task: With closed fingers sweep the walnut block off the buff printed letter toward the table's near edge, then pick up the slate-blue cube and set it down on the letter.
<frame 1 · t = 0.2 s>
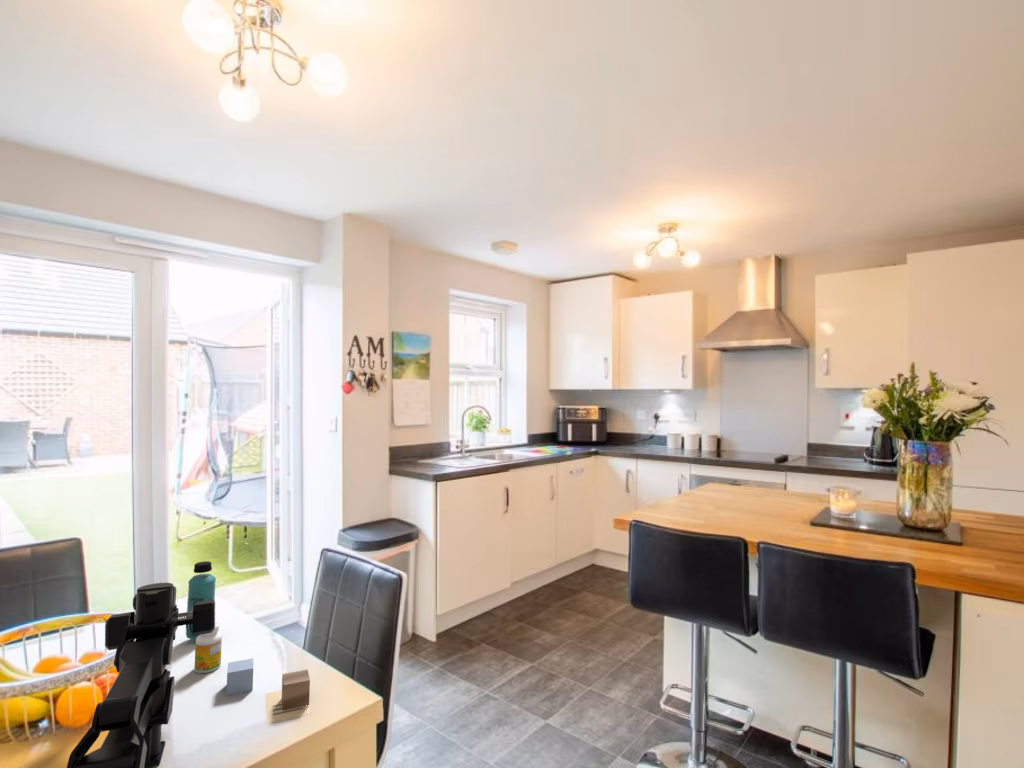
hand: (169, 611, 117), 17 cm above the table, tool horizontal, fingers open, 9 cm apart
supplement bottle: (207, 669, 125), on the table
letter: (287, 704, 111), on the table
cube: (239, 688, 117), on the table
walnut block: (295, 701, 111), resting on letter
beverage bottle: (199, 640, 140), on the table
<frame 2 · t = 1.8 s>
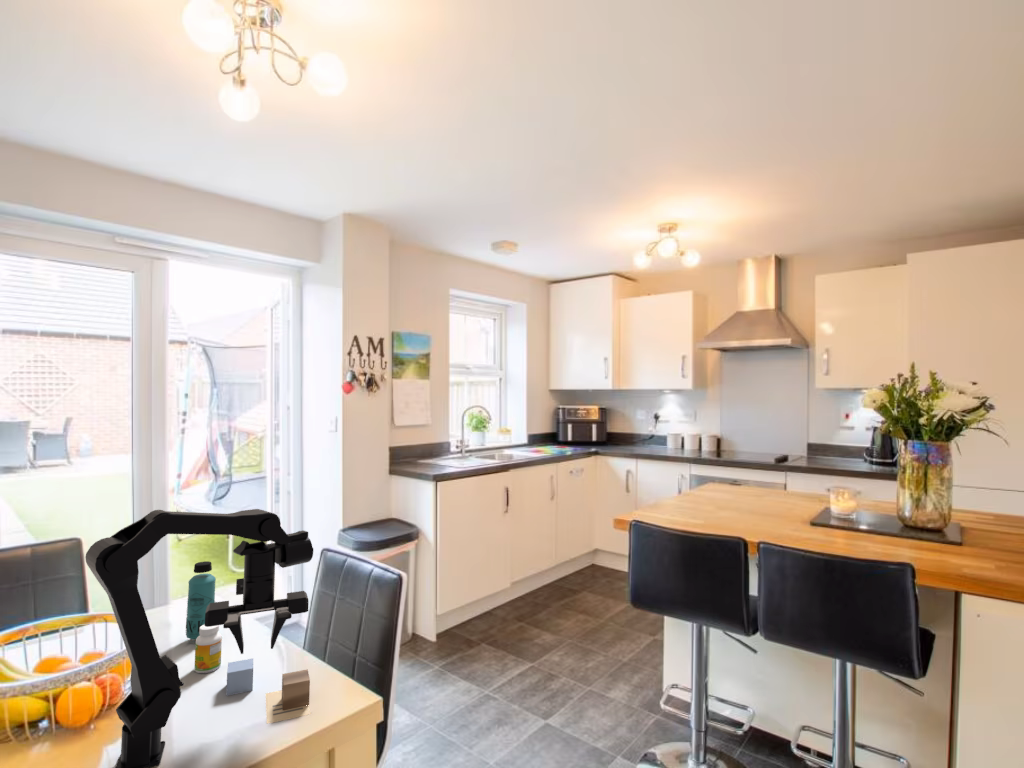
hand: (257, 650, 109), 12 cm above the table, tool pointing down, fingers open, 5 cm apart
nothing on the table moved.
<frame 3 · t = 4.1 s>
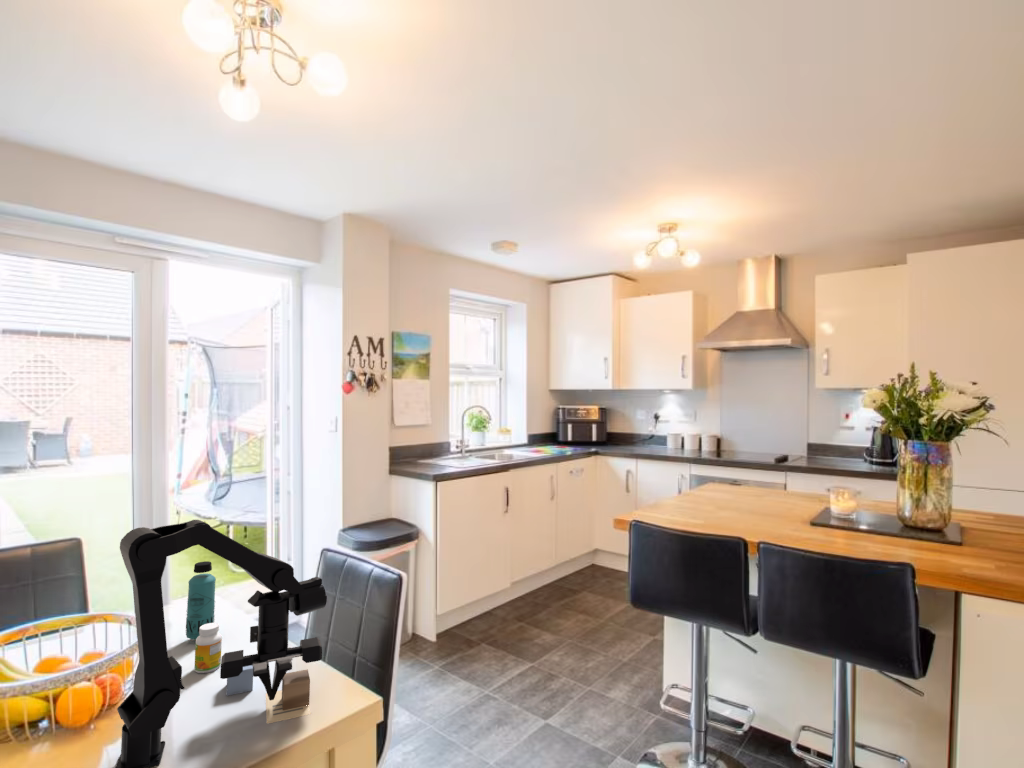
hand: (271, 699, 110), 2 cm above the table, tool pointing down, fingers closed
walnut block: (295, 701, 111), resting on letter, touching gripper
everything else where it was.
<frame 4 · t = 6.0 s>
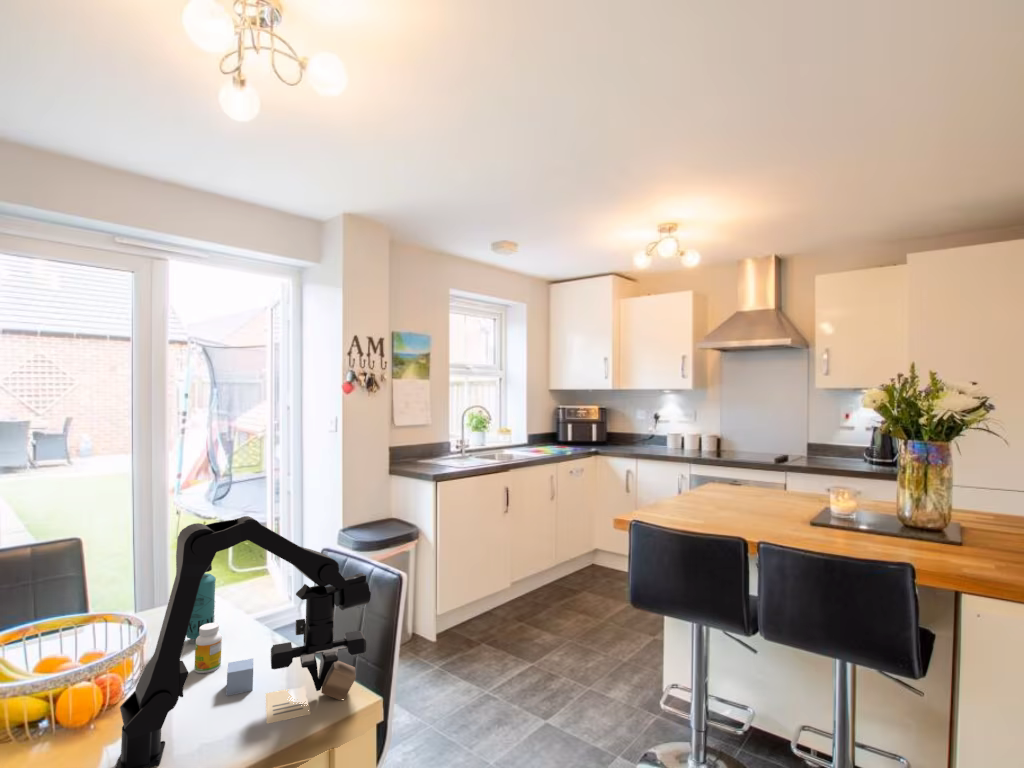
hand: (318, 689, 113), 2 cm above the table, tool pointing down, fingers closed
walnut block: (332, 691, 114), point 1 cm above the table, tilted 28°, touching gripper
everything else where it was.
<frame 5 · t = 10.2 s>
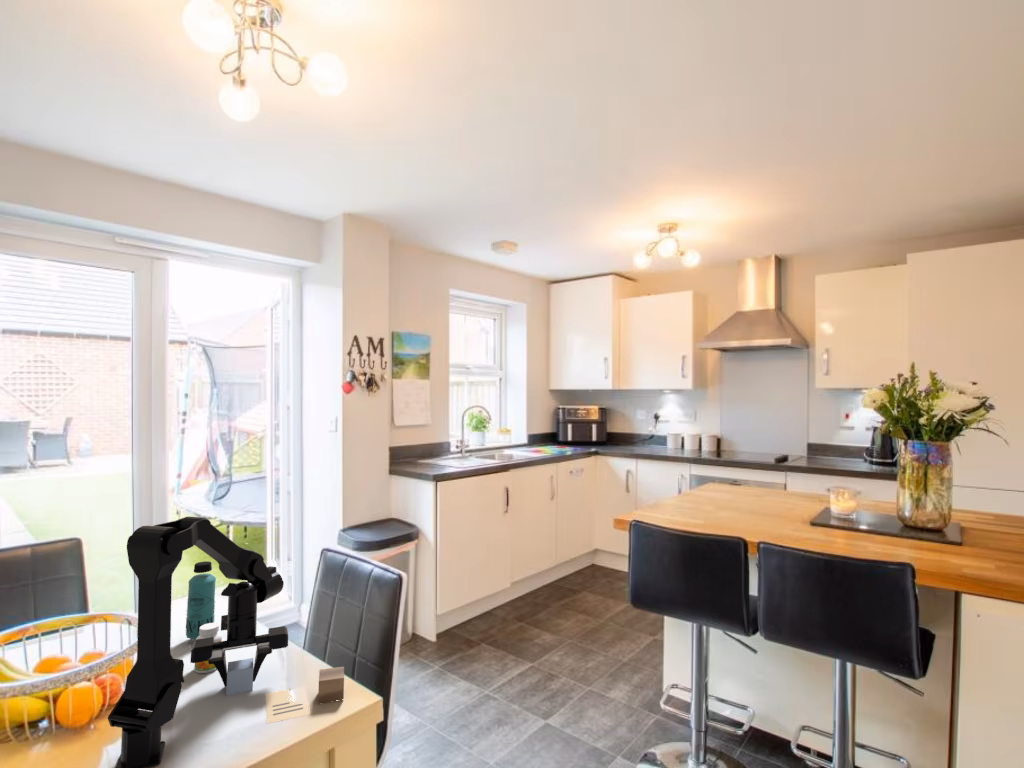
hand: (240, 683, 117), 1 cm above the table, tool pointing down, fingers closed on cube, 5 cm apart
cube: (239, 688, 117), on the table, touching gripper
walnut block: (331, 697, 114), on the table
everything else where it was.
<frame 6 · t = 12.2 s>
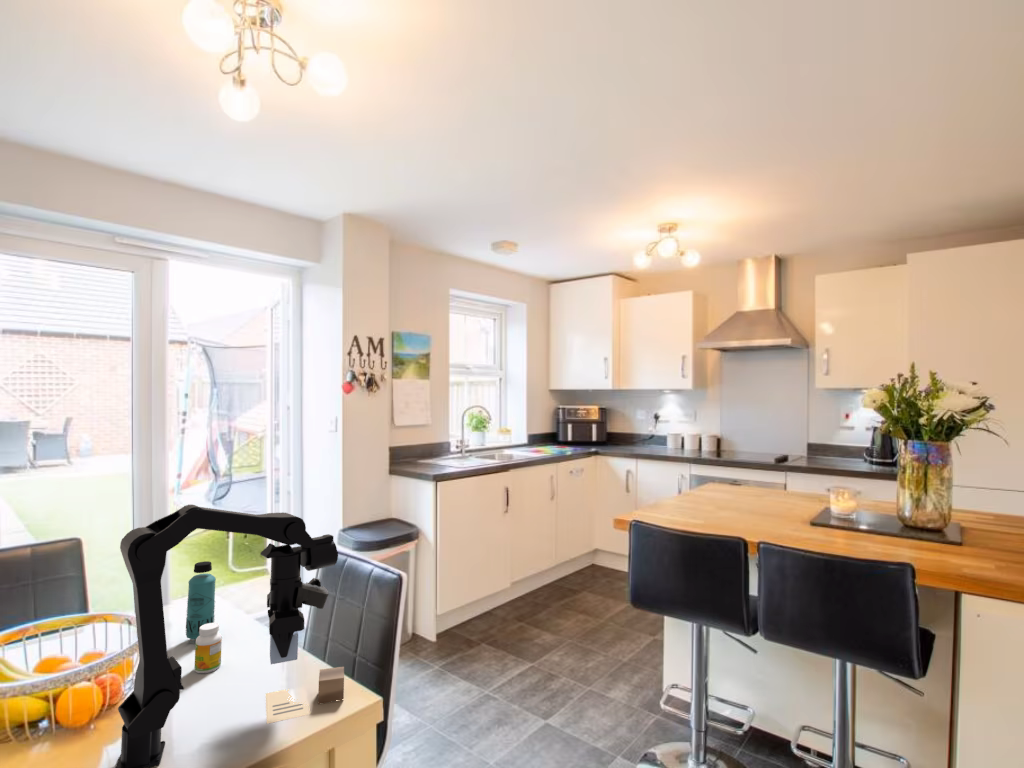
hand: (283, 651, 111), 11 cm above the table, tool pointing down, fingers closed on cube, 5 cm apart
cube: (283, 656, 111), point 10 cm above the table, touching gripper
everything else where it was.
when the fingers open (2 cm above the table, at t = 14.1 s): cube stays where it is, resting on letter.
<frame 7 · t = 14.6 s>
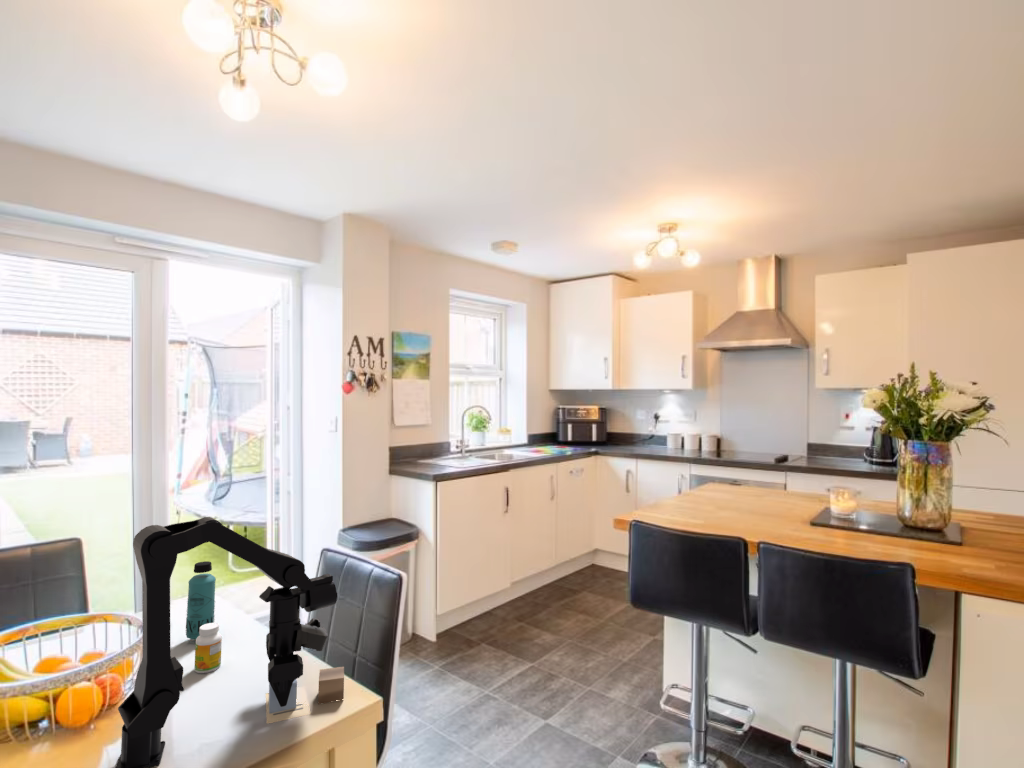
hand: (282, 694, 110), 2 cm above the table, tool pointing down, fingers open, 9 cm apart
cube: (282, 704, 110), resting on letter
everything else where it was.
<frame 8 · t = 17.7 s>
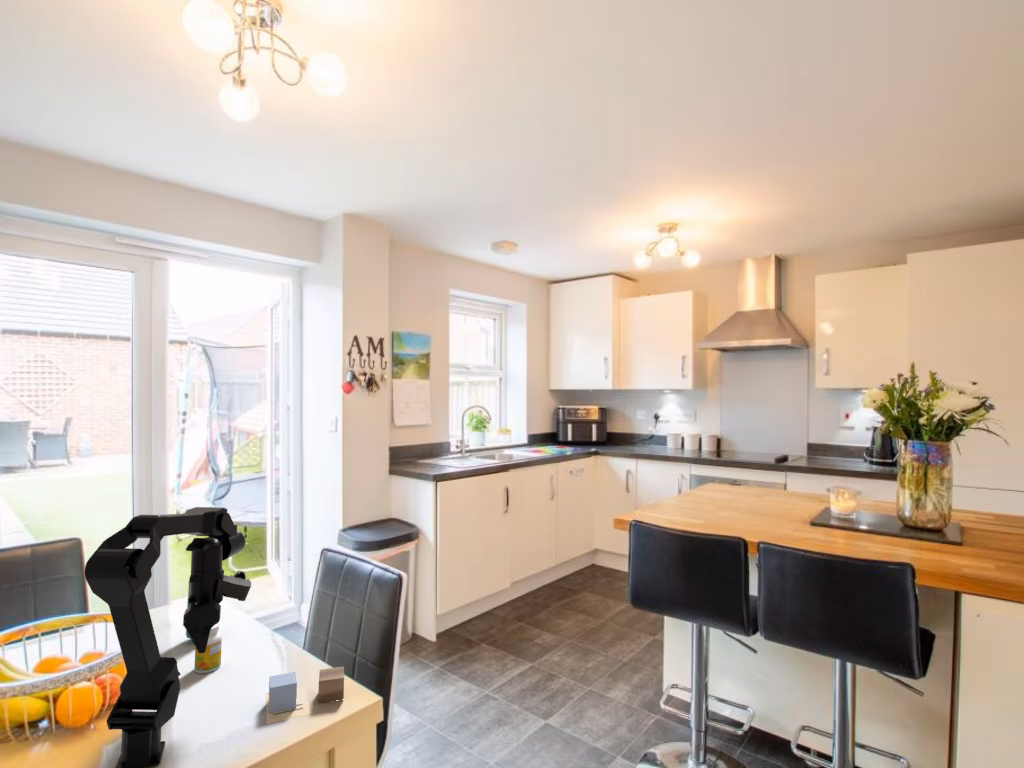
hand: (203, 643, 112), 12 cm above the table, tool pointing down, fingers open, 9 cm apart
nothing on the table moved.
at the end: cube inside the target area on the letter (1.0 cm from its centre), point 0.2 cm above the letter's base; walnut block touching table; cube tilted 0° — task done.
